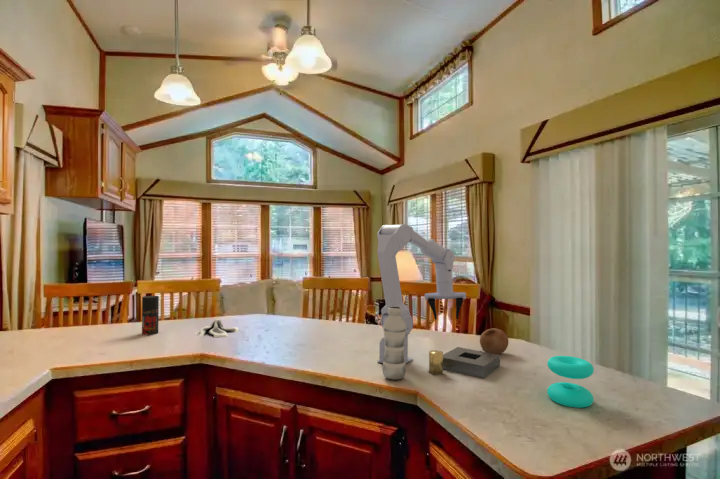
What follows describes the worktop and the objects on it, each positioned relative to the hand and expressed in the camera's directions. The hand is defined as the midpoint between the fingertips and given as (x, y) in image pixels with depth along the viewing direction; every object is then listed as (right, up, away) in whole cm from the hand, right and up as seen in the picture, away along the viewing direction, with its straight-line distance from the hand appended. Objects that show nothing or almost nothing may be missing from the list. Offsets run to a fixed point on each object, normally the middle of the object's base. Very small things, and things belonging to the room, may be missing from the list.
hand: (446, 318), depth 142 cm
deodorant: (-117, -10, +18) cm, 119 cm away
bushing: (-9, -11, -26) cm, 30 cm away
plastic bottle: (-22, -11, -32) cm, 40 cm away
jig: (+2, -11, -21) cm, 24 cm away
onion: (+15, -11, -7) cm, 20 cm away
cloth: (-92, -11, +20) cm, 95 cm away
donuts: (+20, -11, -46) cm, 52 cm away
